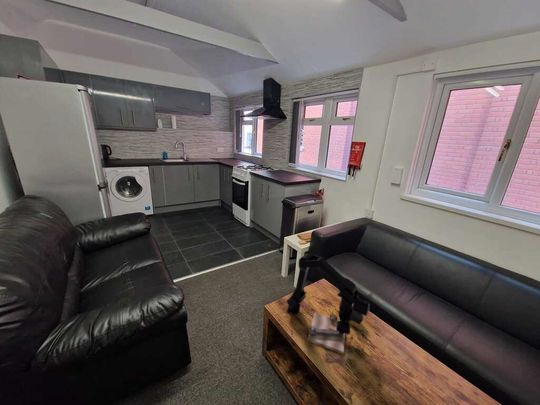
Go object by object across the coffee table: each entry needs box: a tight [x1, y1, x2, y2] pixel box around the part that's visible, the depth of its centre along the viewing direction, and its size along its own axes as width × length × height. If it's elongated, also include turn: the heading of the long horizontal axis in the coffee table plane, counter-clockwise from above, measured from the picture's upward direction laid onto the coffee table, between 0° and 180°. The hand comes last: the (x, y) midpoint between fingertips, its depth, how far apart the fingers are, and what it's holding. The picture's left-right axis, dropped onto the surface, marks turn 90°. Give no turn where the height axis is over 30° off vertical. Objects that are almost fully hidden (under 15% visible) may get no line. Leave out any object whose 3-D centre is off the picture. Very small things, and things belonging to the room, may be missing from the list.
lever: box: [308, 326, 344, 337], centre depth 115 cm, size 18×4×8 cm, turn 86°
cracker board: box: [307, 312, 346, 355], centre depth 119 cm, size 18×19×5 cm
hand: (342, 329), depth 115 cm, fingers open, 4 cm apart
